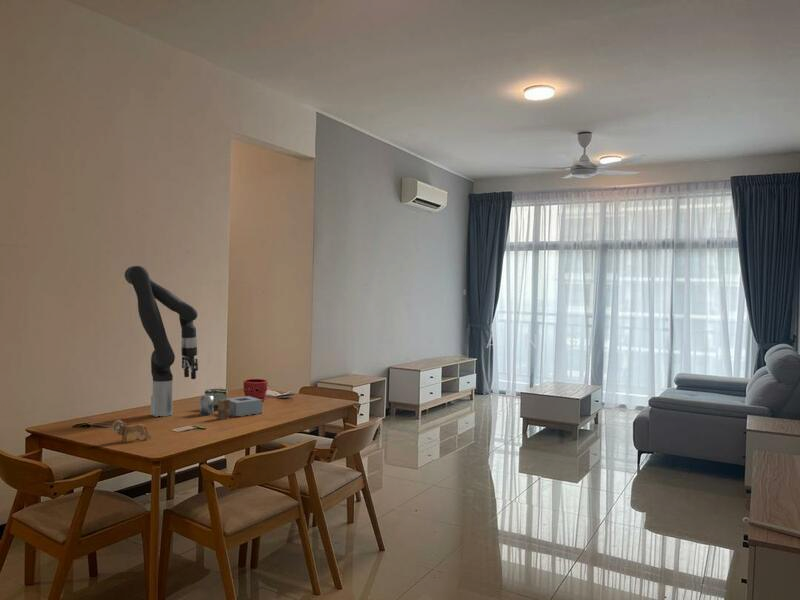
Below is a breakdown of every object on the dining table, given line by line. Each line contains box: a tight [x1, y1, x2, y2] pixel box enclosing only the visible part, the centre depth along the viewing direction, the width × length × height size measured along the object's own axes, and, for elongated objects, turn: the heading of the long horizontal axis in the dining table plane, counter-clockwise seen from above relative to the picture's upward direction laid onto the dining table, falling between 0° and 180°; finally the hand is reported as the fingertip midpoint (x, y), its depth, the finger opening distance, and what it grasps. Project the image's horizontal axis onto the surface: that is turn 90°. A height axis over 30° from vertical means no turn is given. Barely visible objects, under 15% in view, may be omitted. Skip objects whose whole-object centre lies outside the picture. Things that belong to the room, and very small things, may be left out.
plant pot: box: [243, 378, 268, 402], centre depth 338 cm, size 13×13×12 cm
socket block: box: [227, 395, 263, 418], centre depth 304 cm, size 14×14×7 cm
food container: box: [203, 388, 229, 410], centre depth 317 cm, size 12×6×10 cm, turn 84°
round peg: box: [199, 394, 215, 416], centre depth 301 cm, size 7×7×9 cm
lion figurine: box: [112, 419, 152, 443], centre depth 246 cm, size 15×5×9 cm, turn 126°
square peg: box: [217, 398, 231, 420], centre depth 291 cm, size 4×4×9 cm
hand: (190, 378), depth 306 cm, fingers open, 8 cm apart
